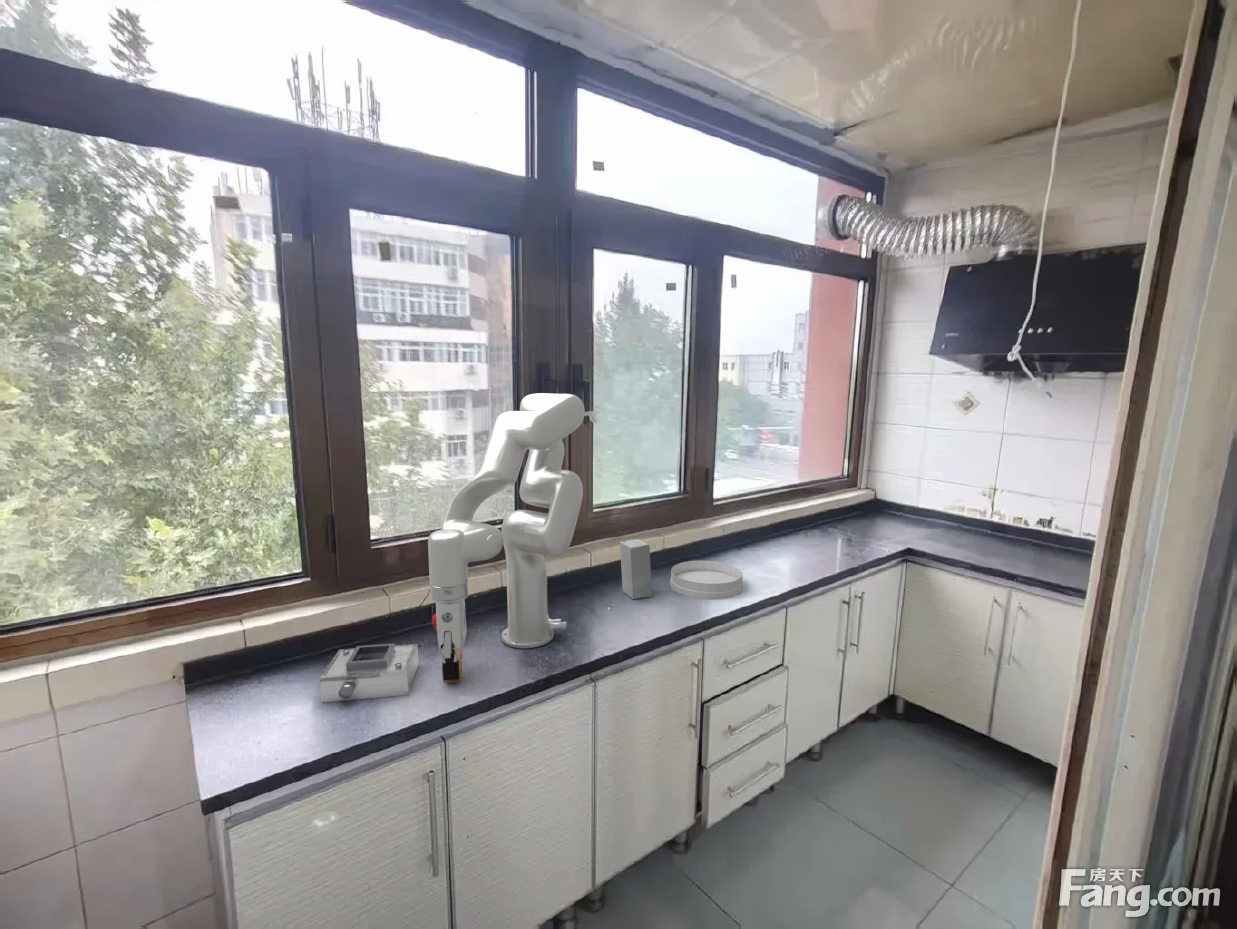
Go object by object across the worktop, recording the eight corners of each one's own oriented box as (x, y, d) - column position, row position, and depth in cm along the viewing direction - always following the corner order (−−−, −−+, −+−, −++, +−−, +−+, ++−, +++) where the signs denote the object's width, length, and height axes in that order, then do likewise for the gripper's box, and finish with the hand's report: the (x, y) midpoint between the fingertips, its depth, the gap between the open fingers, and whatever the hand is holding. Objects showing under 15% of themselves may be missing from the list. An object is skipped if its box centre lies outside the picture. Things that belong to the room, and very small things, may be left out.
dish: (705, 570, 189) (705, 556, 188) (757, 589, 171) (758, 573, 171) (655, 584, 175) (655, 569, 174) (707, 606, 158) (708, 589, 157)
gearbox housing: (418, 665, 123) (417, 637, 122) (406, 700, 109) (404, 669, 109) (340, 671, 120) (338, 643, 119) (318, 708, 107) (315, 676, 106)
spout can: (463, 673, 120) (461, 630, 119) (461, 682, 116) (460, 638, 115) (444, 674, 119) (442, 631, 118) (441, 684, 115) (439, 640, 114)
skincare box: (652, 597, 164) (653, 544, 161) (629, 600, 161) (630, 547, 159) (640, 587, 171) (641, 537, 169) (619, 590, 169) (619, 539, 167)
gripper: (464, 604, 107) (467, 693, 110) (471, 575, 124) (473, 653, 126) (423, 606, 106) (427, 696, 109) (435, 577, 122) (439, 656, 125)
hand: (452, 672), depth 117 cm, fingers closed on spout can, 4 cm apart
